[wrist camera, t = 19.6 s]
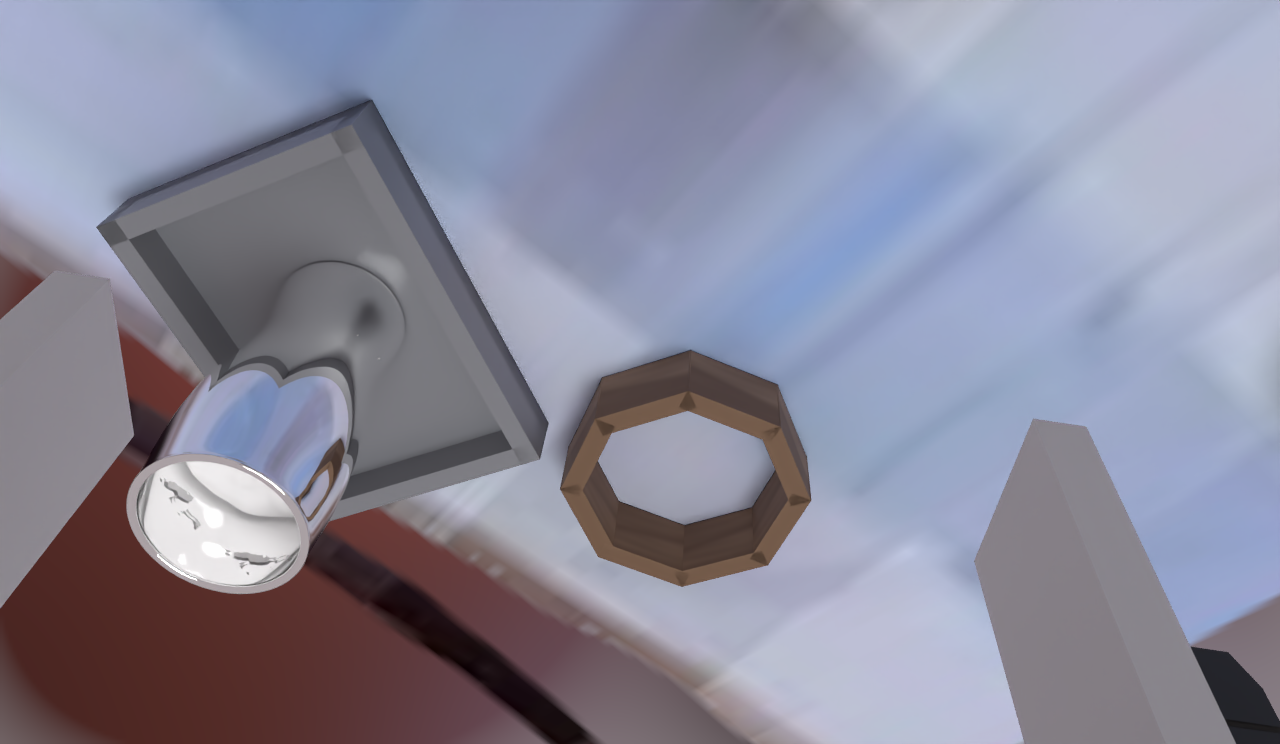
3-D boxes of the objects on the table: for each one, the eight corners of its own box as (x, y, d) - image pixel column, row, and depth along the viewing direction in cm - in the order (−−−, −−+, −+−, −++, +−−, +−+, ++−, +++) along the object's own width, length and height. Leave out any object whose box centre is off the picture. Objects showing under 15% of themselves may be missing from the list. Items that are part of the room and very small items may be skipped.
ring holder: (541, 396, 54) (530, 437, 51) (755, 329, 51) (757, 369, 48) (627, 555, 60) (622, 601, 57) (826, 504, 57) (831, 549, 54)
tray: (127, 198, 50) (96, 227, 47) (371, 99, 46) (351, 124, 44) (330, 489, 58) (312, 525, 56) (548, 423, 55) (539, 459, 52)
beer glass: (352, 403, 54) (239, 625, 41) (239, 310, 51) (82, 517, 39) (445, 324, 51) (354, 538, 38) (330, 222, 48) (192, 415, 36)
